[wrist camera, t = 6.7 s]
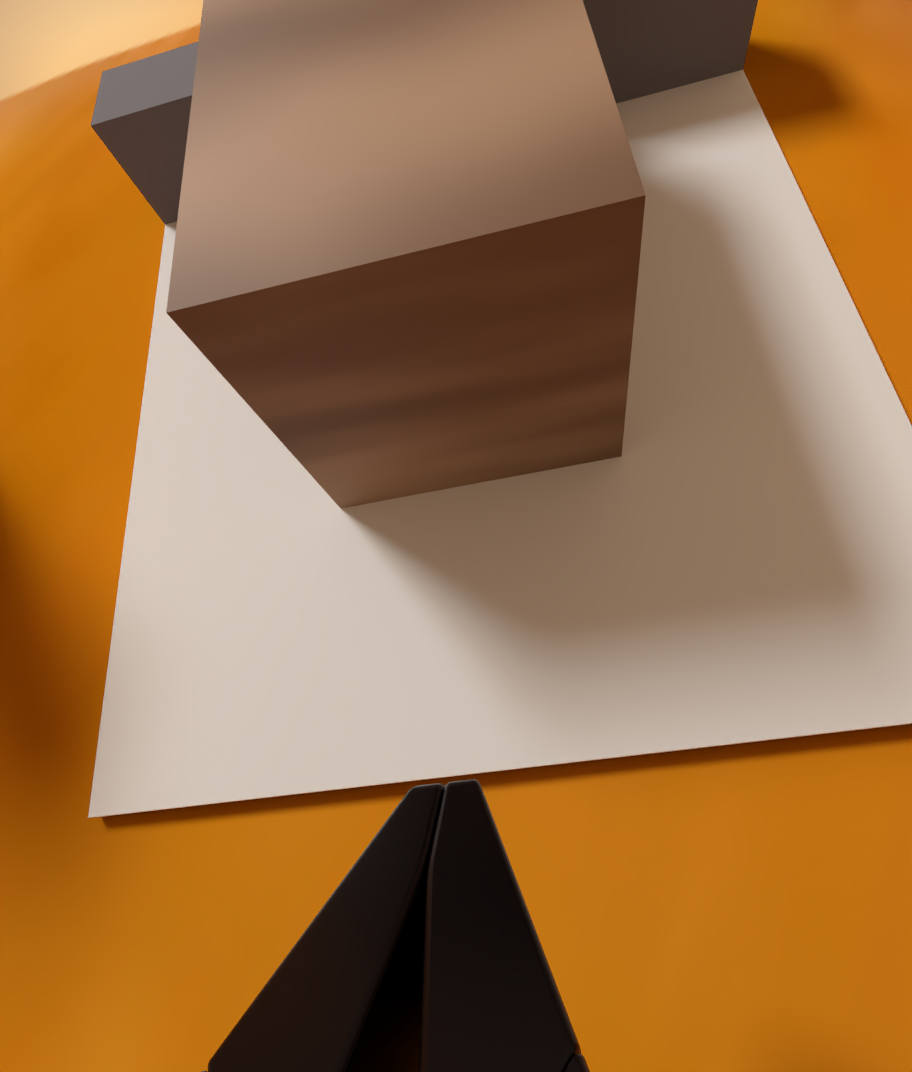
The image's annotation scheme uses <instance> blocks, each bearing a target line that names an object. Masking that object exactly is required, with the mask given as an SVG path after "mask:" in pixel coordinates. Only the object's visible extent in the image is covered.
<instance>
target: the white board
mask: <svg viewBox="0 0 912 1072" xmlns="http://www.w3.org/2000/svg"><path fill="white" fill-rule="evenodd" d="M757 2H758V0H583V3H584V6H585V9H586V12H587V15H588V19H589V22H590V25H591V28H592V31H593V34H594V37H595V40H596V43H597V46H598V49H599V53H600V56H601V59H602V62H603V65H604V68H605V71H606V74H607V77H608V80H609V83H610V87H611V90H612V93H613V96H614V99H615V102H616V105H617V108H618V111H619V114H620V117H621V121H622V124H623V127H624V130H625V133H626V136H627V139H628V142H629V145H630V148H631V151H632V155H633V158H634V161H635V164H636V167H637V170H638V173H639V176H640V179H641V182H642V185H643V189H644V192H645V195H646V197H645V208H644V219H643V229H642V240H641V251H640V262H639V273H638V284H637V294H636V305H635V316H634V327H633V338H632V349H631V359H630V370H629V381H628V392H627V403H626V413H625V424H624V435H623V446H622V456H621V457H616V458H611V459H605V460H600V461H594V462H589V463H584V464H578V465H573V466H567V467H562V468H557V469H551V470H546V471H540V472H535V473H530V474H524V475H519V476H513V477H508V478H503V479H497V480H492V481H486V482H481V483H476V484H470V485H465V486H459V487H454V488H449V489H443V490H438V491H432V492H427V493H422V494H416V495H411V496H405V497H400V498H395V499H389V500H384V501H378V502H373V503H368V504H362V505H357V506H351V507H346V508H340V507H339V506H338V505H337V504H336V503H335V502H334V501H333V499H332V498H331V497H330V496H329V495H328V494H327V493H326V492H325V490H324V489H323V488H322V487H321V486H320V485H319V484H318V483H317V481H316V480H315V479H314V478H313V477H312V476H311V475H310V474H309V472H308V471H307V470H306V469H305V468H304V467H303V466H302V465H301V463H300V462H299V461H298V460H297V459H296V458H295V457H294V456H293V455H292V453H291V452H290V451H289V450H288V449H287V448H286V447H285V446H284V444H283V443H282V442H281V441H280V440H279V439H278V438H277V437H276V435H275V434H274V433H273V432H272V431H271V430H270V429H269V428H268V426H267V425H266V424H265V423H264V422H263V421H262V420H261V419H260V417H259V416H258V415H257V414H256V413H255V412H254V411H253V410H252V408H251V407H250V406H249V405H248V404H247V403H246V402H245V401H244V399H243V398H242V397H241V396H240V395H239V394H238V393H237V392H236V391H235V389H234V388H233V387H232V386H231V385H230V384H229V383H228V382H227V380H226V379H225V378H224V377H223V376H222V375H221V374H220V373H219V371H218V370H217V369H216V368H215V367H214V366H213V365H212V364H211V362H210V361H209V360H208V359H207V358H206V357H205V356H204V355H203V353H202V352H201V351H200V350H199V349H198V348H197V347H196V346H195V344H194V343H193V342H192V341H191V340H190V339H189V338H188V337H187V335H186V334H185V333H184V332H183V331H182V330H181V329H180V328H179V327H178V325H177V324H176V323H175V322H174V321H173V320H172V319H171V318H170V316H169V315H168V314H167V313H166V310H167V302H168V293H169V285H170V277H171V268H172V260H173V252H174V243H175V235H176V227H177V218H178V210H179V202H180V193H181V185H182V177H183V168H184V160H185V152H186V143H187V135H188V127H189V118H190V110H191V102H192V93H193V85H194V77H195V68H196V60H197V51H198V43H199V42H195V43H192V44H189V45H186V46H183V47H180V48H176V49H173V50H170V51H167V52H164V53H160V54H157V55H154V56H151V57H148V58H144V59H141V60H138V61H135V62H132V63H128V64H125V65H122V66H119V67H116V68H113V69H109V70H106V71H103V72H102V77H101V81H100V86H99V90H98V95H97V99H96V104H95V108H94V113H93V117H92V122H91V127H92V128H93V129H94V130H95V132H96V133H97V134H98V136H99V137H100V138H101V140H102V141H103V142H104V144H105V145H106V146H107V148H108V149H109V150H110V152H111V153H112V154H113V156H114V157H115V158H116V160H117V161H118V162H119V164H120V165H121V166H122V168H123V169H124V170H125V172H126V173H127V174H128V176H129V177H130V178H131V180H132V181H133V182H134V184H135V185H136V186H137V188H138V189H139V190H140V192H141V193H142V194H143V196H144V197H145V198H146V200H147V201H148V202H149V204H150V205H151V206H152V207H153V209H154V210H155V211H156V213H157V214H158V215H159V217H160V218H161V219H162V221H163V222H164V223H165V231H164V239H163V247H162V254H161V262H160V270H159V277H158V285H157V293H156V300H155V308H154V316H153V324H152V331H151V339H150V347H149V354H148V362H147V370H146V377H145V385H144V393H143V400H142V408H141V416H140V423H139V431H138V439H137V446H136V454H135V462H134V469H133V477H132V485H131V492H130V500H129V508H128V515H127V523H126V531H125V538H124V546H123V554H122V561H121V569H120V577H119V584H118V592H117V600H116V607H115V615H114V623H113V630H112V638H111V646H110V653H109V661H108V669H107V676H106V684H105V692H104V699H103V707H102V715H101V723H100V730H99V738H98V746H97V753H96V761H95V769H94V776H93V784H92V792H91V799H90V807H89V815H88V818H92V817H104V816H113V815H122V814H130V813H139V812H148V811H157V810H165V809H174V808H183V807H191V806H200V805H209V804H218V803H226V802H235V801H244V800H253V799H261V798H270V797H279V796H287V795H296V794H305V793H314V792H322V791H331V790H340V789H348V788H357V787H366V786H375V785H383V784H392V783H401V782H409V781H418V780H427V779H436V778H444V777H453V776H462V775H470V774H479V773H488V772H497V771H505V770H514V769H523V768H532V767H540V766H549V765H558V764H566V763H575V762H584V761H593V760H601V759H610V758H619V757H627V756H636V755H645V754H654V753H662V752H671V751H680V750H688V749H697V748H706V747H715V746H723V745H732V744H741V743H749V742H758V741H767V740H776V739H784V738H793V737H802V736H811V735H819V734H828V733H837V732H845V731H854V730H863V729H872V728H880V727H889V726H898V725H906V724H912V426H911V423H910V421H909V419H908V417H907V415H906V413H905V411H904V409H903V407H902V404H901V402H900V400H899V398H898V396H897V394H896V392H895V390H894V388H893V385H892V383H891V381H890V379H889V377H888V375H887V373H886V371H885V369H884V366H883V364H882V362H881V360H880V358H879V356H878V354H877V352H876V349H875V347H874V345H873V343H872V341H871V339H870V337H869V335H868V333H867V330H866V328H865V326H864V324H863V322H862V320H861V318H860V316H859V314H858V311H857V309H856V307H855V305H854V303H853V301H852V299H851V297H850V295H849V292H848V290H847V288H846V286H845V284H844V282H843V280H842V278H841V276H840V273H839V271H838V269H837V267H836V265H835V263H834V261H833V259H832V257H831V254H830V252H829V250H828V248H827V246H826V244H825V242H824V240H823V237H822V235H821V233H820V231H819V229H818V227H817V225H816V223H815V221H814V218H813V216H812V214H811V212H810V210H809V208H808V206H807V204H806V202H805V199H804V197H803V195H802V193H801V191H800V189H799V187H798V185H797V183H796V180H795V178H794V176H793V174H792V172H791V170H790V168H789V166H788V164H787V161H786V159H785V157H784V155H783V153H782V151H781V149H780V147H779V144H778V142H777V140H776V138H775V136H774V134H773V132H772V130H771V128H770V125H769V123H768V121H767V119H766V117H765V115H764V113H763V111H762V109H761V106H760V104H759V102H758V100H757V98H756V96H755V94H754V92H753V90H752V87H751V85H750V83H749V81H748V79H747V77H746V75H745V73H744V71H743V68H744V63H745V58H746V54H747V49H748V44H749V39H750V35H751V30H752V25H753V20H754V16H755V11H756V6H757Z"/></svg>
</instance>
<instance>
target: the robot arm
mask: <svg viewBox="0 0 912 1072" xmlns="http://www.w3.org/2000/svg"><path fill="white" fill-rule="evenodd" d="M202 1072H207V1071H202ZM208 1072H590V1071H589V1068H588V1066H587V1063H586V1060H585V1058H584V1056H583V1055H581V1050H580V1046H579V1043H578V1040H577V1038H576V1035H575V1033H574V1030H573V1027H572V1025H571V1022H570V1019H569V1017H568V1014H567V1012H566V1009H565V1006H564V1004H563V1001H562V998H561V996H560V993H559V990H558V988H557V985H556V983H555V980H554V977H553V975H552V972H551V969H550V967H549V964H548V961H547V959H546V956H545V954H544V951H543V948H542V946H541V943H540V940H539V938H538V935H537V933H536V930H535V927H534V925H533V922H532V919H531V917H530V914H529V911H528V909H527V906H526V904H525V901H524V898H523V896H522V893H521V890H520V888H519V885H518V883H517V880H516V877H515V875H514V872H513V869H512V867H511V864H510V861H509V859H508V856H507V854H506V851H505V848H504V846H503V843H502V840H501V838H500V835H499V833H498V830H497V827H496V825H495V822H494V819H493V817H492V814H491V811H490V809H489V806H488V804H487V801H486V798H485V796H484V793H483V790H482V788H481V785H480V783H479V782H478V781H477V780H476V779H470V780H461V781H452V782H449V783H448V784H447V785H446V786H445V785H443V784H441V783H435V784H426V785H417V786H414V787H412V788H411V789H410V790H409V791H408V792H407V794H406V795H405V796H404V798H403V799H402V800H401V802H400V803H399V804H398V806H397V807H396V809H395V810H394V811H393V813H392V814H391V815H390V817H389V818H388V819H387V821H386V822H385V823H384V825H383V826H382V827H381V829H380V830H379V832H378V833H377V834H376V836H375V837H374V838H373V840H372V841H371V842H370V844H369V845H368V846H367V848H366V849H365V851H364V852H363V853H362V855H361V856H360V857H359V859H358V860H357V861H356V863H355V864H354V865H353V867H352V868H351V870H350V871H349V872H348V874H347V875H346V876H345V878H344V879H343V880H342V882H341V883H340V884H339V886H338V887H337V889H336V890H335V891H334V893H333V894H332V895H331V897H330V898H329V899H328V901H327V902H326V903H325V905H324V906H323V908H322V909H321V910H320V912H319V913H318V914H317V916H316V917H315V918H314V920H313V921H312V922H311V924H310V925H309V926H308V928H307V929H306V931H305V932H304V933H303V935H302V936H301V937H300V939H299V940H298V941H297V943H296V944H295V945H294V947H293V948H292V950H291V951H290V952H289V954H288V955H287V956H286V958H285V959H284V960H283V962H282V963H281V964H280V966H279V967H278V969H277V970H276V971H275V973H274V974H273V975H272V977H271V978H270V979H269V981H268V982H267V983H266V985H265V986H264V988H263V989H262V990H261V992H260V993H259V994H258V996H257V997H256V998H255V1000H254V1001H253V1002H252V1004H251V1005H250V1007H249V1008H248V1009H247V1011H246V1012H245V1013H244V1015H243V1016H242V1017H241V1019H240V1020H239V1021H238V1023H237V1024H236V1026H235V1027H234V1028H233V1030H232V1031H231V1032H230V1034H229V1035H228V1036H227V1038H226V1039H225V1040H224V1042H223V1043H222V1044H221V1046H220V1047H219V1049H218V1050H217V1051H216V1053H215V1054H214V1055H213V1057H212V1058H211V1059H210V1061H209V1063H208Z"/></svg>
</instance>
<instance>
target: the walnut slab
mask: <svg viewBox="0 0 912 1072" xmlns="http://www.w3.org/2000/svg"><path fill="white" fill-rule="evenodd" d="M645 197H646V195H645V192H644V189H643V185H642V182H641V179H640V176H639V173H638V170H637V167H636V164H635V161H634V158H633V155H632V151H631V148H630V145H629V142H628V139H627V136H626V133H625V130H624V127H623V124H622V121H621V117H620V114H619V111H618V108H617V105H616V102H615V99H614V96H613V93H612V90H611V87H610V83H609V80H608V77H607V74H606V71H605V68H604V65H603V62H602V59H601V56H600V53H599V49H598V46H597V43H596V40H595V37H594V34H593V31H592V28H591V25H590V22H589V19H588V15H587V12H586V9H585V6H584V3H583V0H204V2H203V10H202V18H201V26H200V35H199V43H198V51H197V60H196V68H195V77H194V85H193V93H192V102H191V110H190V118H189V127H188V135H187V143H186V152H185V160H184V168H183V177H182V185H181V193H180V202H179V210H178V218H177V227H176V235H175V243H174V252H173V260H172V268H171V277H170V285H169V293H168V302H167V310H166V313H167V314H168V315H169V316H170V318H171V319H172V320H173V321H174V322H175V323H176V324H177V325H178V327H179V328H180V329H181V330H182V331H183V332H184V333H185V334H186V335H187V337H188V338H189V339H190V340H191V341H192V342H193V343H194V344H195V346H196V347H197V348H198V349H199V350H200V351H201V352H202V353H203V355H204V356H205V357H206V358H207V359H208V360H209V361H210V362H211V364H212V365H213V366H214V367H215V368H216V369H217V370H218V371H219V373H220V374H221V375H222V376H223V377H224V378H225V379H226V380H227V382H228V383H229V384H230V385H231V386H232V387H233V388H234V389H235V391H236V392H237V393H238V394H239V395H240V396H241V397H242V398H243V399H244V401H245V402H246V403H247V404H248V405H249V406H250V407H251V408H252V410H253V411H254V412H255V413H256V414H257V415H258V416H259V417H260V419H261V420H262V421H263V422H264V423H265V424H266V425H267V426H268V428H269V429H270V430H271V431H272V432H273V433H274V434H275V435H276V437H277V438H278V439H279V440H280V441H281V442H282V443H283V444H284V446H285V447H286V448H287V449H288V450H289V451H290V452H291V453H292V455H293V456H294V457H295V458H296V459H297V460H298V461H299V462H300V463H301V465H302V466H303V467H304V468H305V469H306V470H307V471H308V472H309V474H310V475H311V476H312V477H313V478H314V479H315V480H316V481H317V483H318V484H319V485H320V486H321V487H322V488H323V489H324V490H325V492H326V493H327V494H328V495H329V496H330V497H331V498H332V499H333V501H334V502H335V503H336V504H337V505H338V506H339V507H340V508H346V507H351V506H357V505H362V504H368V503H373V502H378V501H384V500H389V499H395V498H400V497H405V496H411V495H416V494H422V493H427V492H432V491H438V490H443V489H449V488H454V487H459V486H465V485H470V484H476V483H481V482H486V481H492V480H497V479H503V478H508V477H513V476H519V475H524V474H530V473H535V472H540V471H546V470H551V469H557V468H562V467H567V466H573V465H578V464H584V463H589V462H594V461H600V460H605V459H611V458H616V457H621V456H622V446H623V435H624V424H625V413H626V403H627V392H628V381H629V370H630V359H631V349H632V338H633V327H634V316H635V305H636V294H637V284H638V273H639V262H640V251H641V240H642V229H643V219H644V208H645Z"/></svg>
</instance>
